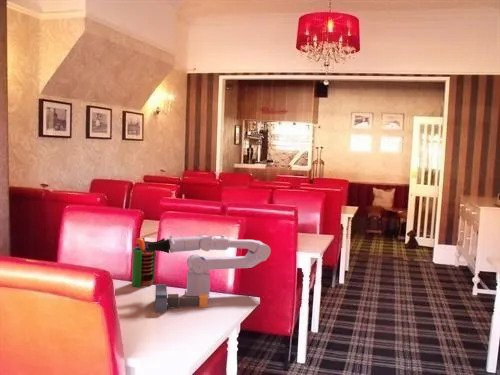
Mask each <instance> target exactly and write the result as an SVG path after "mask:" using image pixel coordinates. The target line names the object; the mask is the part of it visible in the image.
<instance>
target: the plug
mask: <svg viewBox="0 0 500 375" xmlns="http://www.w3.org/2000/svg"><path fill="white" fill-rule="evenodd" d="M208 299H209V296H207V294H199V296H179V293H167V309H175V308H176V309H179V308H181V307H189V308H190V306H191V307H200V308H201V307H204V308H205V307H208Z"/></svg>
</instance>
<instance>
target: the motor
mask: <svg viewBox="0 0 500 375" xmlns="http://www.w3.org/2000/svg"><path fill="white" fill-rule="evenodd" d="M135 244H136V245H137V244H139V246H136V247H134V248H132V268H131V269H132V271H131V273H132V274H131V286H132V287H136V288H141V286H147V287H151V286H153V283H154V282H155V281H154V280H155V265H156V264H155V263H156V260H155V259H156V251H153V250H151V249H148V246H146V244H145V240H144V238H139V237H138V238H136V239H135Z"/></svg>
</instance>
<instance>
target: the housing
mask: <svg viewBox="0 0 500 375" xmlns="http://www.w3.org/2000/svg"><path fill="white" fill-rule="evenodd" d="M167 291H168V290H167V284H161V283H160V284H155V294H154V295H155V296H154V298H155V299H154V300H155V302H154V303H155V313H167V309H168V305H167V298H168V292H167Z"/></svg>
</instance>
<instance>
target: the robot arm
mask: <svg viewBox="0 0 500 375" xmlns="http://www.w3.org/2000/svg"><path fill="white" fill-rule="evenodd" d="M147 247H148V249H151V250H153V251H155V252H162V253H163V252H164V253H167V254H172V253H181V252H191V251H193V252H194V251H199V250H202V251H205V252H209V251H211V250H212V251H226V250H229V248H234V249H235V248H236V249H247V250H248V251H247V253H246V254H245V255H244V256H243V255H242V256H240V255H238V256H218V257H216V256H214V257H209V256H205V255H204V256H202V255H201V256H200V255H198V254H191V255H189V257H188V258H187V260H186V264H187V267H188V270H187V275H186V276H187V277H186V278H187V279H186V280H187V281H186V289H185V291H184V292H185V297H199V294H207V296H208V297H210V290H211V274H210V271H213V270H228V269H229V270H230V269H231V270H232V269H248V268H253V267H255V266H257V265H258V264H261V262H265V261H267V259H268V258H270V255H271V251H272V250H271V247H270V246H269V245H268V244H265V243H263V242H262V241H261V240H257V239H256V240H255V239H229V238H228V237H227V236H225V235H224V234H221V235H219V236H217V235H213V234H209V236H208V235H206V234H200V235H198V236H183V237H173V235H171V234H170V235H169V238H166V239H165V237H163V238H161V239H160V240H157V241H156V240H155V241H153V242H149V243H148V244H147Z"/></svg>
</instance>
